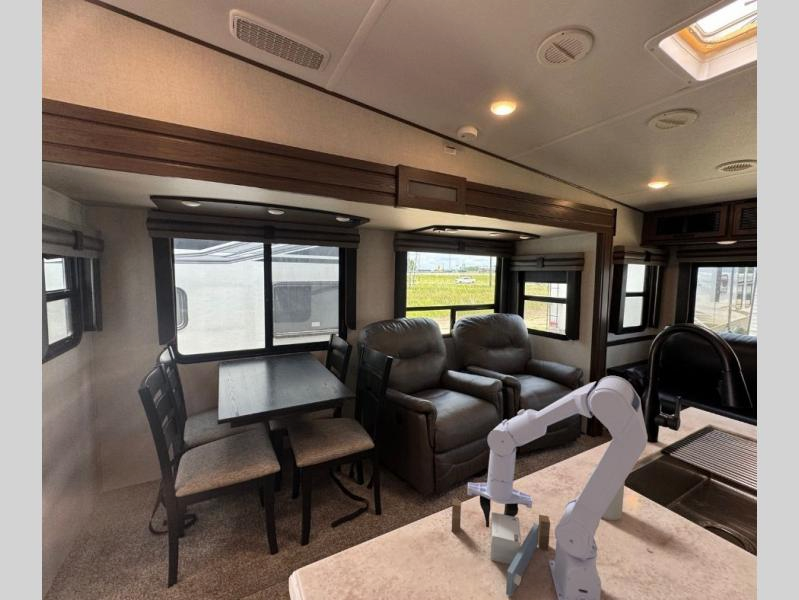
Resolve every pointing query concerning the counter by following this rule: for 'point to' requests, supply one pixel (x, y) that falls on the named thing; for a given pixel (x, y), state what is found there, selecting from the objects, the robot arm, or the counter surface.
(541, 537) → the door frame
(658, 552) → the counter surface
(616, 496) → the can
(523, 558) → the door leaf
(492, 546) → the skincare box
